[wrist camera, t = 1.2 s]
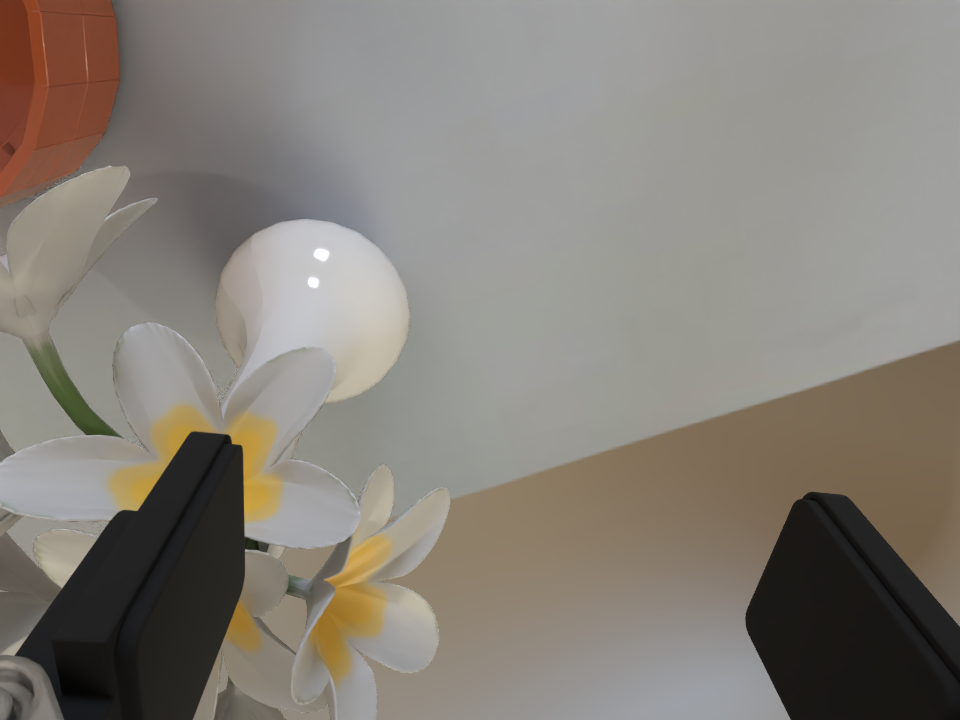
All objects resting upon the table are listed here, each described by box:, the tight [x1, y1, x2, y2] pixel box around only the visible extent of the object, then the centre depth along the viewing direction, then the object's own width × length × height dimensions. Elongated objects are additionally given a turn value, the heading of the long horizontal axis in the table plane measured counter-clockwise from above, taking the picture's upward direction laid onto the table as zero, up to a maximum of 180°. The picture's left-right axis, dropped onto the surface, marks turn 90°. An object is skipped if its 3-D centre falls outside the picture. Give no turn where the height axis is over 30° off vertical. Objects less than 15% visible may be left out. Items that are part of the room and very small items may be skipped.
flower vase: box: [0, 166, 451, 720], centre depth 24 cm, size 13×18×25 cm
